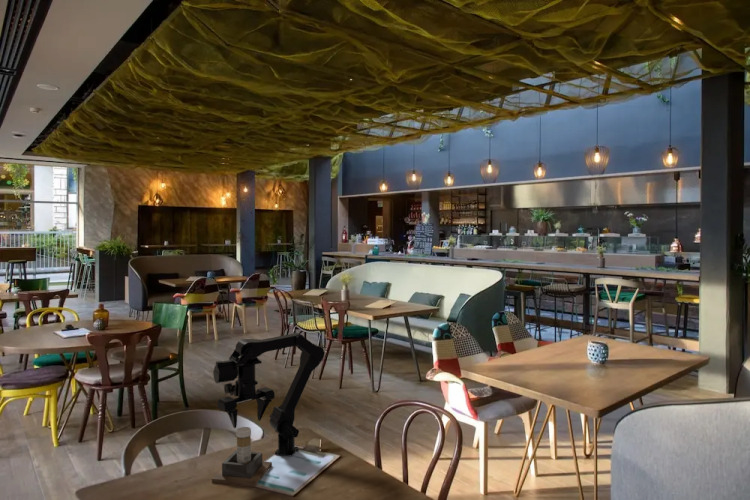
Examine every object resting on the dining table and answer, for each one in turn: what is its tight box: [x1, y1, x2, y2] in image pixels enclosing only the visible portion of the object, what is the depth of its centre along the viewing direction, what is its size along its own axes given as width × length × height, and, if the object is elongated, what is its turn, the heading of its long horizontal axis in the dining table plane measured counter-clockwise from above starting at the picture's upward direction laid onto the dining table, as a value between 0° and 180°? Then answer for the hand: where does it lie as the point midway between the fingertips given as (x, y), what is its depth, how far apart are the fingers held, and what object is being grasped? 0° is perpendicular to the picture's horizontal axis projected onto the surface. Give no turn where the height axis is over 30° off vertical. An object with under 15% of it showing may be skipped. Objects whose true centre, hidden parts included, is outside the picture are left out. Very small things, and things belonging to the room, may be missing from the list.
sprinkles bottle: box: [235, 426, 252, 464], centre depth 166 cm, size 5×5×13 cm
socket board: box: [211, 449, 273, 488], centre depth 166 cm, size 14×14×5 cm
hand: (247, 423), depth 174 cm, fingers open, 9 cm apart
